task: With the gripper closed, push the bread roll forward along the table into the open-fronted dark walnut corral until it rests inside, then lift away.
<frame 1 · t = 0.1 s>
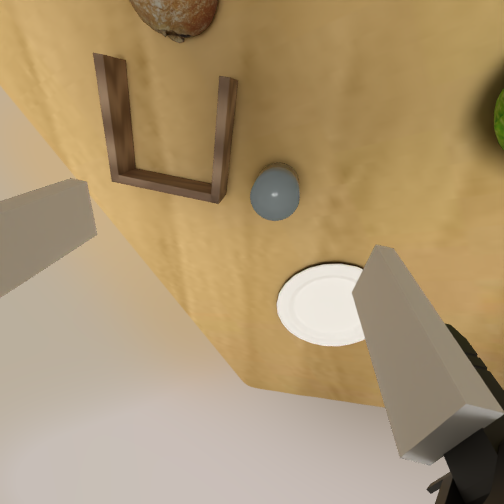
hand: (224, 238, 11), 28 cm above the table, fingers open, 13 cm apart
plate: (330, 303, 48), on the table
corral: (176, 128, 36), on the table
grey-blue cylinder: (277, 184, 38), on the table
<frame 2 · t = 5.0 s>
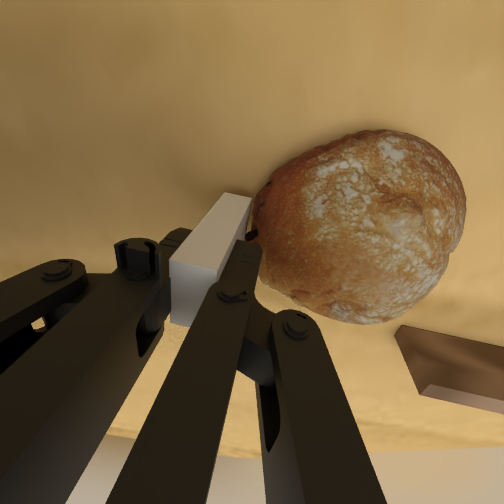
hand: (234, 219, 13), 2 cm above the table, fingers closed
bread roll: (335, 220, 15), on the table, touching gripper
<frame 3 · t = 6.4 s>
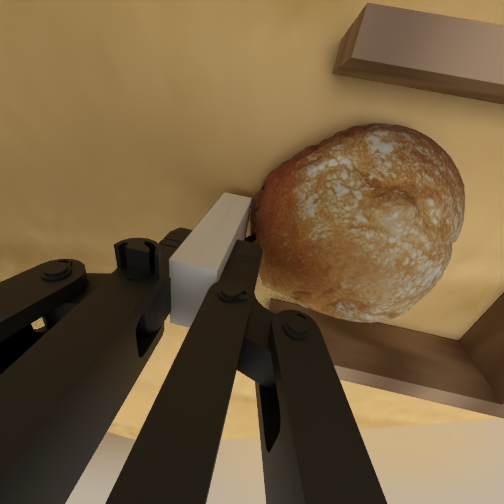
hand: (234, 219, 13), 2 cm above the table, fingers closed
corral: (410, 238, 15), on the table
bread roll: (335, 218, 15), on the table
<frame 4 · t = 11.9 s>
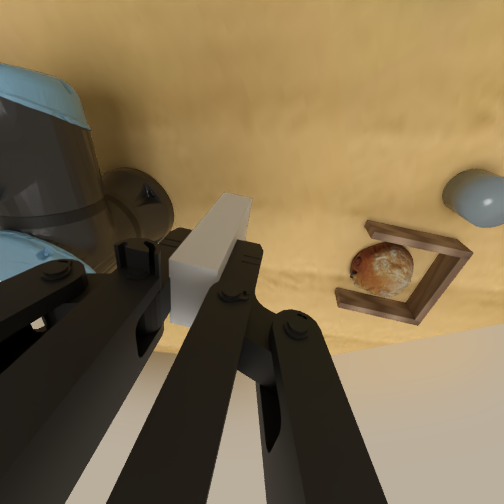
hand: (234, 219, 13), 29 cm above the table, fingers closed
corral: (386, 267, 46), on the table
bread roll: (377, 264, 46), on the table
grey-blue cylinder: (466, 190, 37), on the table
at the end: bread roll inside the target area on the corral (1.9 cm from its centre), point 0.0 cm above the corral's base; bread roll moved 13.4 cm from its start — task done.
